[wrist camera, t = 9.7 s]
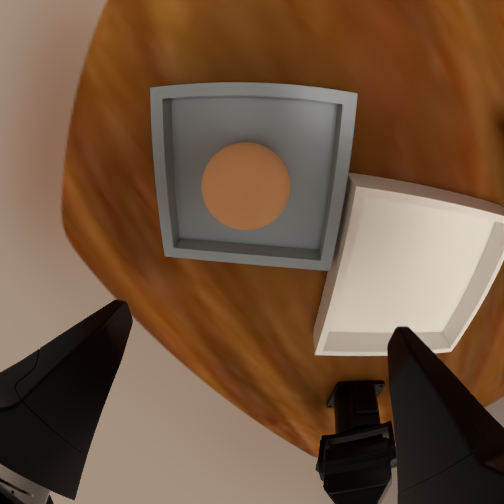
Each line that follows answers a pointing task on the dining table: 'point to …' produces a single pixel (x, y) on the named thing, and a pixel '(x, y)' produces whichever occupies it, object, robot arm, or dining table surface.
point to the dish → (406, 266)
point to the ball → (245, 186)
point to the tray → (266, 134)
